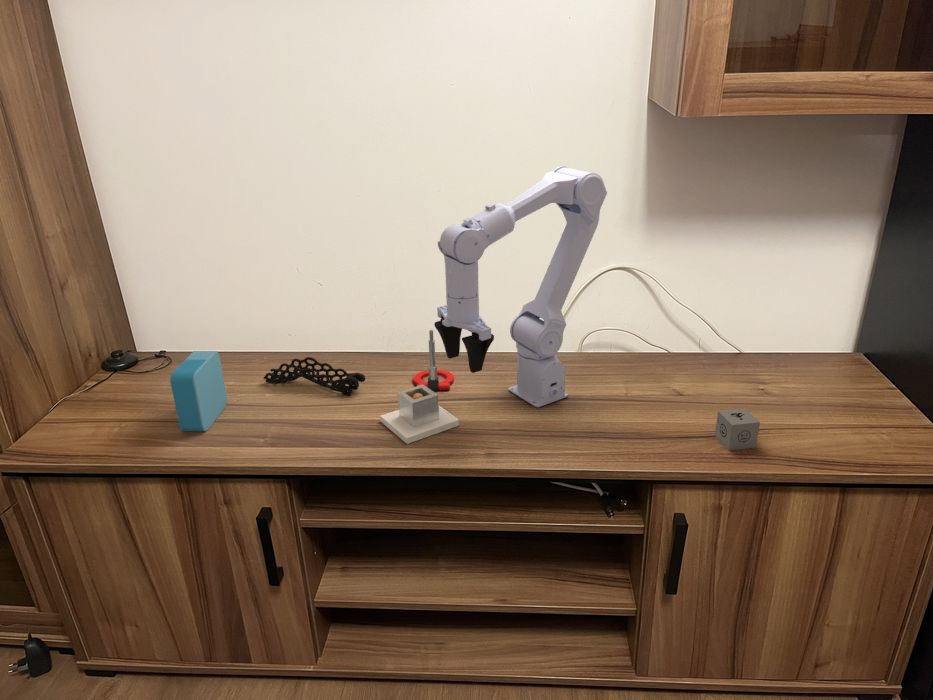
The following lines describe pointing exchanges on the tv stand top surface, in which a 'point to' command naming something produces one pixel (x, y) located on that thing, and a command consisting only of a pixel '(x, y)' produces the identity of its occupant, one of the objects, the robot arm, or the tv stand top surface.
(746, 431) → the dice cube
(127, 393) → the tv stand top surface
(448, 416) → the plate
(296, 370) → the decorative element
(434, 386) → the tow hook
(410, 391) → the hollow square tube
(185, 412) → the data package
